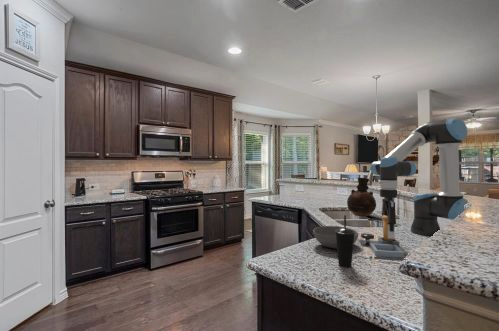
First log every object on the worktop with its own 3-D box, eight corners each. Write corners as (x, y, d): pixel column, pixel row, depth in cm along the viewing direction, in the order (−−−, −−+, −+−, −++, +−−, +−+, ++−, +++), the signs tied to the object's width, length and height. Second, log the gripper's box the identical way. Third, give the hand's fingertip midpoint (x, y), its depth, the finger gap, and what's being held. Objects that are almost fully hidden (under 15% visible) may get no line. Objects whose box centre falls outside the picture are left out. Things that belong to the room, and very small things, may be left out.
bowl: (359, 244, 142) (359, 228, 142) (356, 256, 123) (356, 238, 123) (317, 239, 151) (317, 224, 151) (308, 250, 132) (308, 233, 132)
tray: (396, 252, 128) (396, 244, 128) (404, 261, 117) (404, 252, 117) (370, 251, 130) (370, 243, 130) (375, 259, 119) (375, 250, 119)
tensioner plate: (396, 244, 140) (396, 233, 140) (403, 252, 128) (403, 240, 128) (357, 242, 144) (358, 231, 144) (361, 249, 132) (361, 237, 132)
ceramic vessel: (346, 217, 214) (346, 177, 213) (347, 213, 230) (347, 176, 230) (376, 218, 206) (376, 178, 206) (375, 214, 222) (375, 177, 222)
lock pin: (393, 243, 137) (393, 215, 137) (396, 246, 132) (396, 217, 132) (380, 242, 139) (380, 215, 138) (383, 246, 133) (383, 217, 133)
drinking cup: (354, 263, 114) (354, 214, 114) (355, 269, 107) (355, 217, 107) (335, 261, 117) (335, 213, 117) (334, 267, 110) (334, 216, 110)
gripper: (375, 187, 146) (375, 229, 147) (385, 190, 125) (385, 241, 125) (390, 187, 145) (390, 230, 145) (404, 191, 124) (404, 242, 124)
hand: (388, 235), depth 135 cm, fingers open, 9 cm apart
